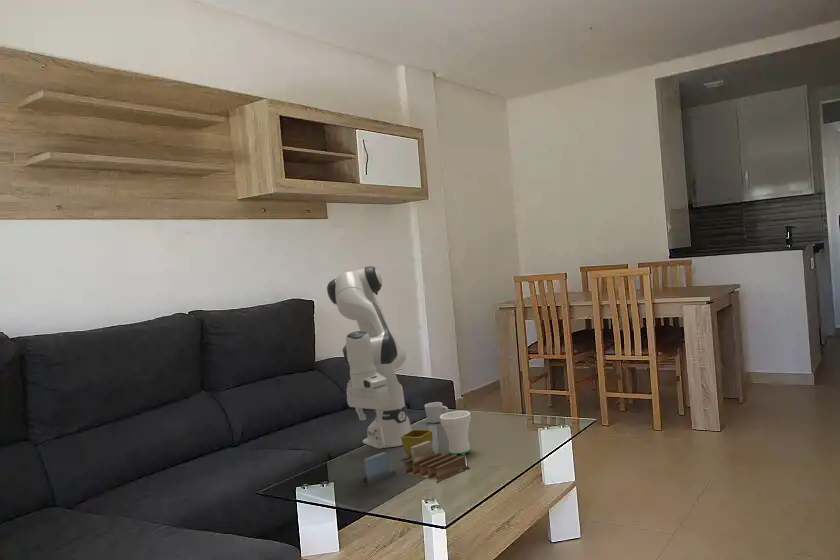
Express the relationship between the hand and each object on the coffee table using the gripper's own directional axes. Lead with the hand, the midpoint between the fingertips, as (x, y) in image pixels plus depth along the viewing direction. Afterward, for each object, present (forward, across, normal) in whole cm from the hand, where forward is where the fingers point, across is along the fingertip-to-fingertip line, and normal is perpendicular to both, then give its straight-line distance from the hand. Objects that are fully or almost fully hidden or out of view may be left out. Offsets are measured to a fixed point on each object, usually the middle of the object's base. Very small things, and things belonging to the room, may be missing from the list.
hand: (371, 421), depth 225 cm
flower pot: (+21, -8, +24) cm, 33 cm away
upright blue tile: (+20, 0, -1) cm, 20 cm away
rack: (+21, +10, +16) cm, 28 cm away
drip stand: (+20, 0, -1) cm, 20 cm away
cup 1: (+20, -41, +62) cm, 77 cm away
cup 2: (+21, +2, +34) cm, 40 cm away
